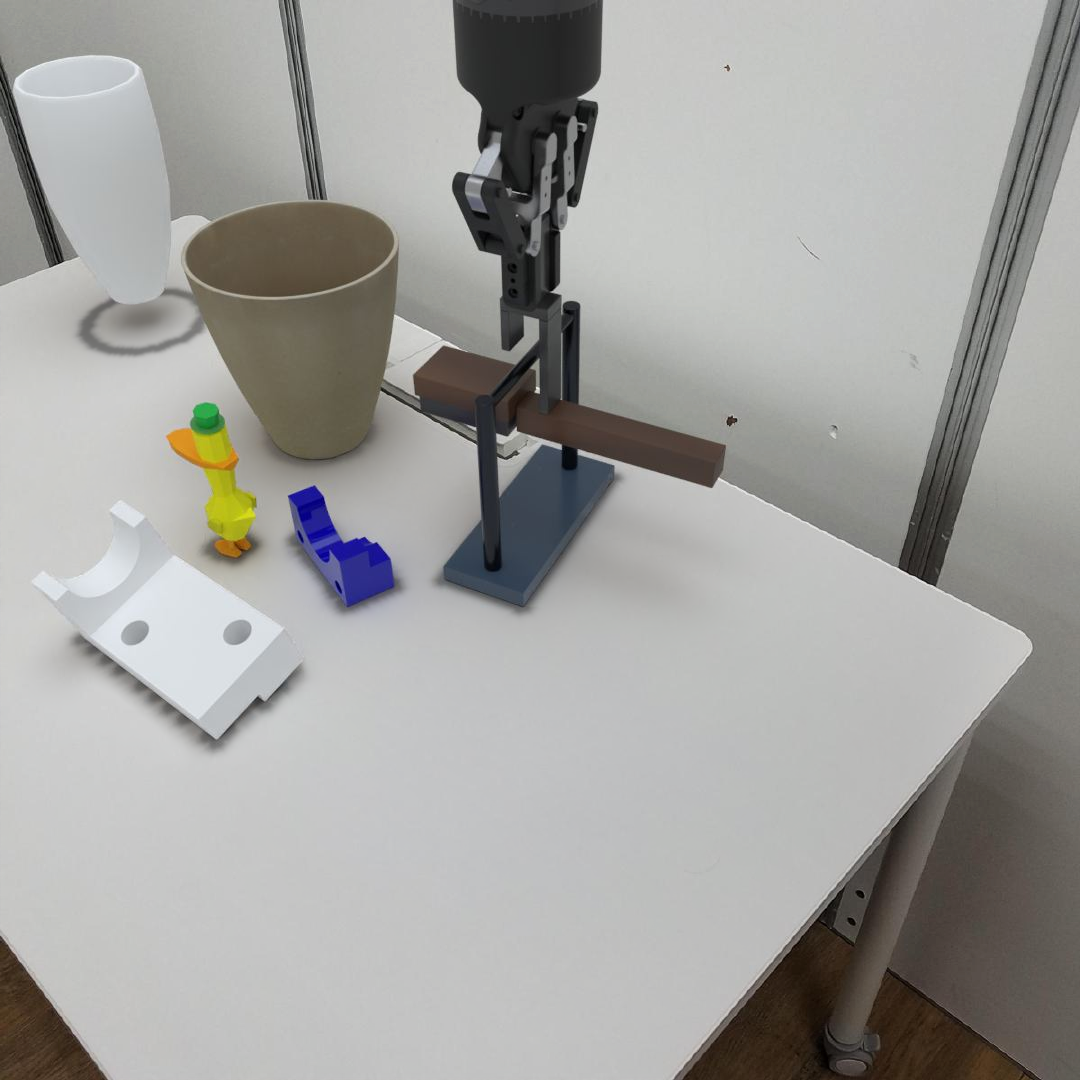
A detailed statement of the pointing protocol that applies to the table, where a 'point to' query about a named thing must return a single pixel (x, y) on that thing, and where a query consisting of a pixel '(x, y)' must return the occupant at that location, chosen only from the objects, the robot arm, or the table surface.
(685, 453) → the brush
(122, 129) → the cup
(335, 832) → the table surface
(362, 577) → the cable holder
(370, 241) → the plant pot
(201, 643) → the bracket
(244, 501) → the toy figure
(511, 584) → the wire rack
